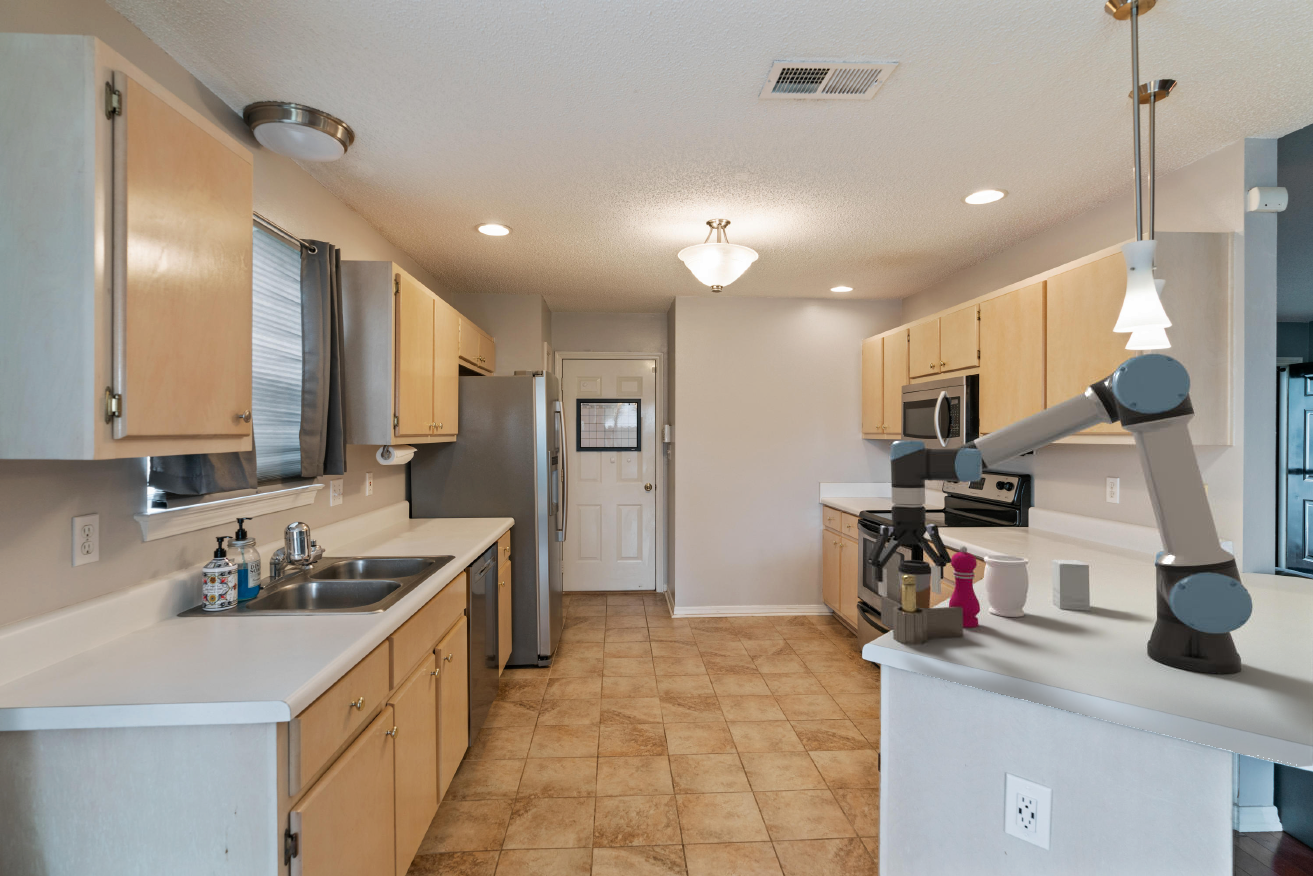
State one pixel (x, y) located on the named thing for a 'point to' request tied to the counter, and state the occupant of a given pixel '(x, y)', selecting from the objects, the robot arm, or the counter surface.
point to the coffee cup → (917, 580)
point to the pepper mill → (965, 587)
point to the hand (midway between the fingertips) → (909, 594)
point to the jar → (1006, 584)
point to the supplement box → (1071, 584)
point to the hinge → (921, 622)
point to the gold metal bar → (908, 593)
